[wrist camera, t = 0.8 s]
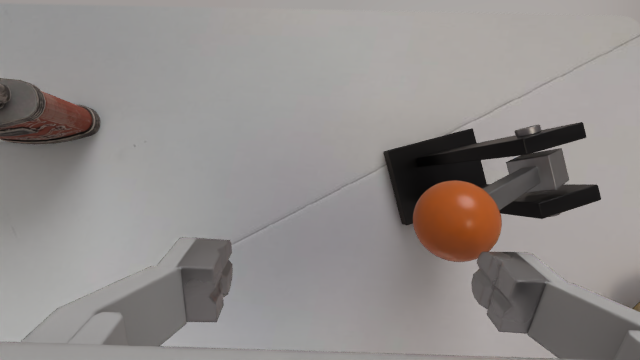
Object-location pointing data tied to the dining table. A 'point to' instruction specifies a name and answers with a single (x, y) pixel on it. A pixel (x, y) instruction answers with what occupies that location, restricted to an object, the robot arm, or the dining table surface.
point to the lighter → (41, 116)
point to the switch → (481, 206)
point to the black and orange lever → (465, 165)
